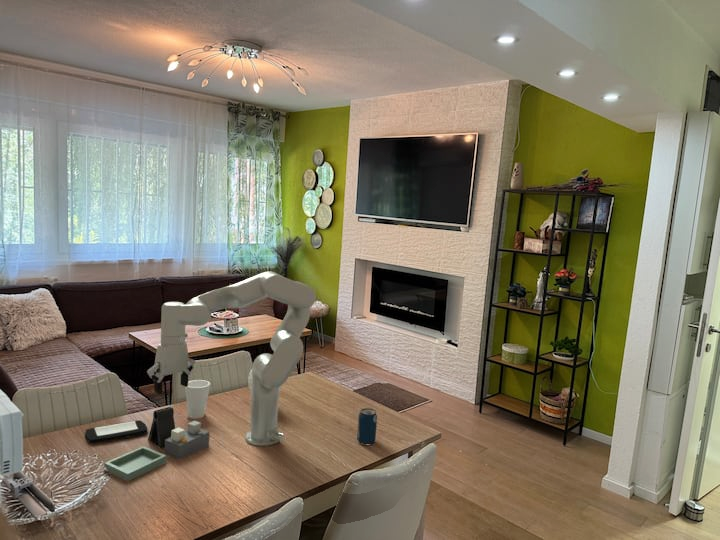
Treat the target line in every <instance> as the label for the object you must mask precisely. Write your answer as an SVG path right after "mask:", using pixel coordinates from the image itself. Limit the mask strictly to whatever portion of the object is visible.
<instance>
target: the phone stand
mask: <svg viewBox="0 0 720 540" xmlns="http://www.w3.org/2000/svg"><path fill="white" fill-rule="evenodd" d="M174 411H175V410H174V407H171V406H168V407H164V408H161V409H157V410H154V411H153V413H152V414H153V417H152V418H153V419H152V423H151V425H150V430H149V434H148V439H147V440H148V441H149V442H150V443H152V444H153V445H154V446H156V447H158V449H160V448H161V449H165V439H168V438H170V437H171V431H172V430H174V429H176V425H175V418H174V413H175V412H174Z"/></svg>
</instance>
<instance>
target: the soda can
mask: <svg viewBox="0 0 720 540" xmlns="http://www.w3.org/2000/svg"><path fill="white" fill-rule="evenodd" d="M357 419H358V421H357V422H358V423H357V433H356V434H357V435H356V440H357V441H359V442H360V443H363V444H372V443H373V444H374V443H375V441H376V436H377V423H378V415H377V411H376V410H375V409H373V408H362V409H361V410H360V412H359V414H358V418H357ZM359 442H358V443H359ZM360 443H359V444H360ZM373 444H372V445H373Z"/></svg>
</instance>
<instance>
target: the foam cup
mask: <svg viewBox="0 0 720 540" xmlns="http://www.w3.org/2000/svg"><path fill="white" fill-rule="evenodd" d="M210 390H211V382H210V381H208V380H204V379H194V380H188V386H187V387H185V386H184V391H185V397H186V398H185V400H186V409H187V416H188V418H190V419H200V418H203V417H205V415H206V410H207V404H208V399H209V394H210Z"/></svg>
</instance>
